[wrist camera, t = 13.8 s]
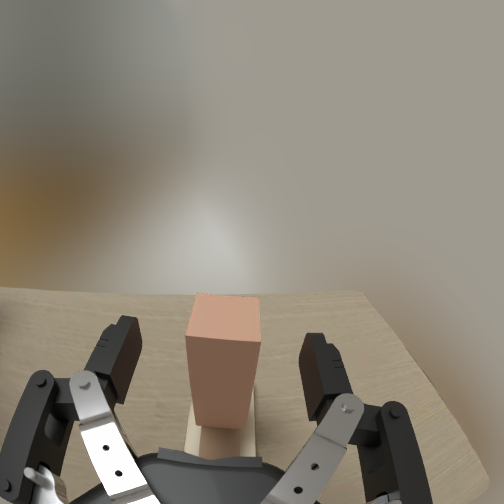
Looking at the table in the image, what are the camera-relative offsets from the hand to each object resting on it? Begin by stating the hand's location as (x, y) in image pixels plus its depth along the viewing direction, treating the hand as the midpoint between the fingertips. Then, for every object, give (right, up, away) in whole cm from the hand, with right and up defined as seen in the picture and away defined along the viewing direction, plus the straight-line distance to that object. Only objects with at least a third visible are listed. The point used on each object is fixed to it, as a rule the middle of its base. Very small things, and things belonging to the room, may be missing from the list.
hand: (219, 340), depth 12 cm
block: (-1, -11, +11) cm, 15 cm away
